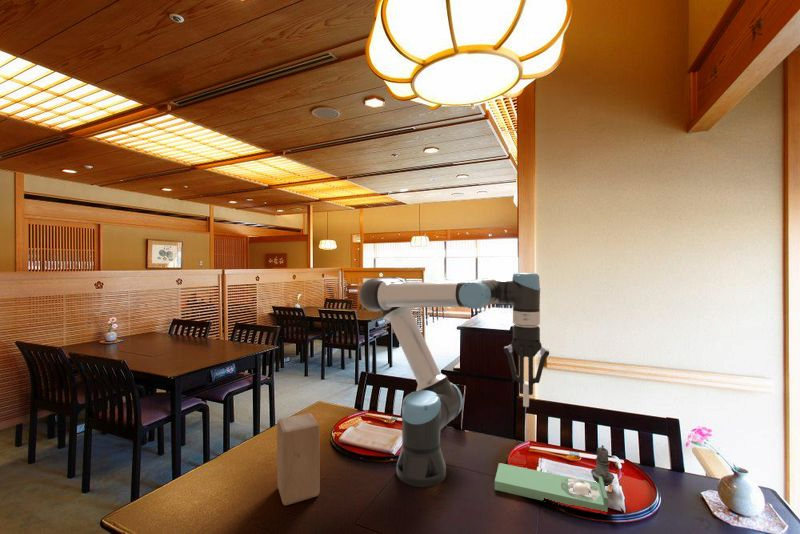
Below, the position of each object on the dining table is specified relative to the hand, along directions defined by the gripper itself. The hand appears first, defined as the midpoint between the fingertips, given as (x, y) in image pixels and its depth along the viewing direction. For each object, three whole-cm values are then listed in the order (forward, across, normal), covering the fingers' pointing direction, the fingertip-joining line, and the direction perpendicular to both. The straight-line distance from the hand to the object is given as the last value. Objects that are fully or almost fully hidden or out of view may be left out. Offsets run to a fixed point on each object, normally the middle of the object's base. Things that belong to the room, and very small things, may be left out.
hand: (526, 404), depth 106 cm
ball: (+20, +14, -3) cm, 25 cm away
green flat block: (+22, +6, -3) cm, 23 cm away
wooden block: (+23, -59, -30) cm, 70 cm away
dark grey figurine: (+23, +20, +5) cm, 31 cm away
